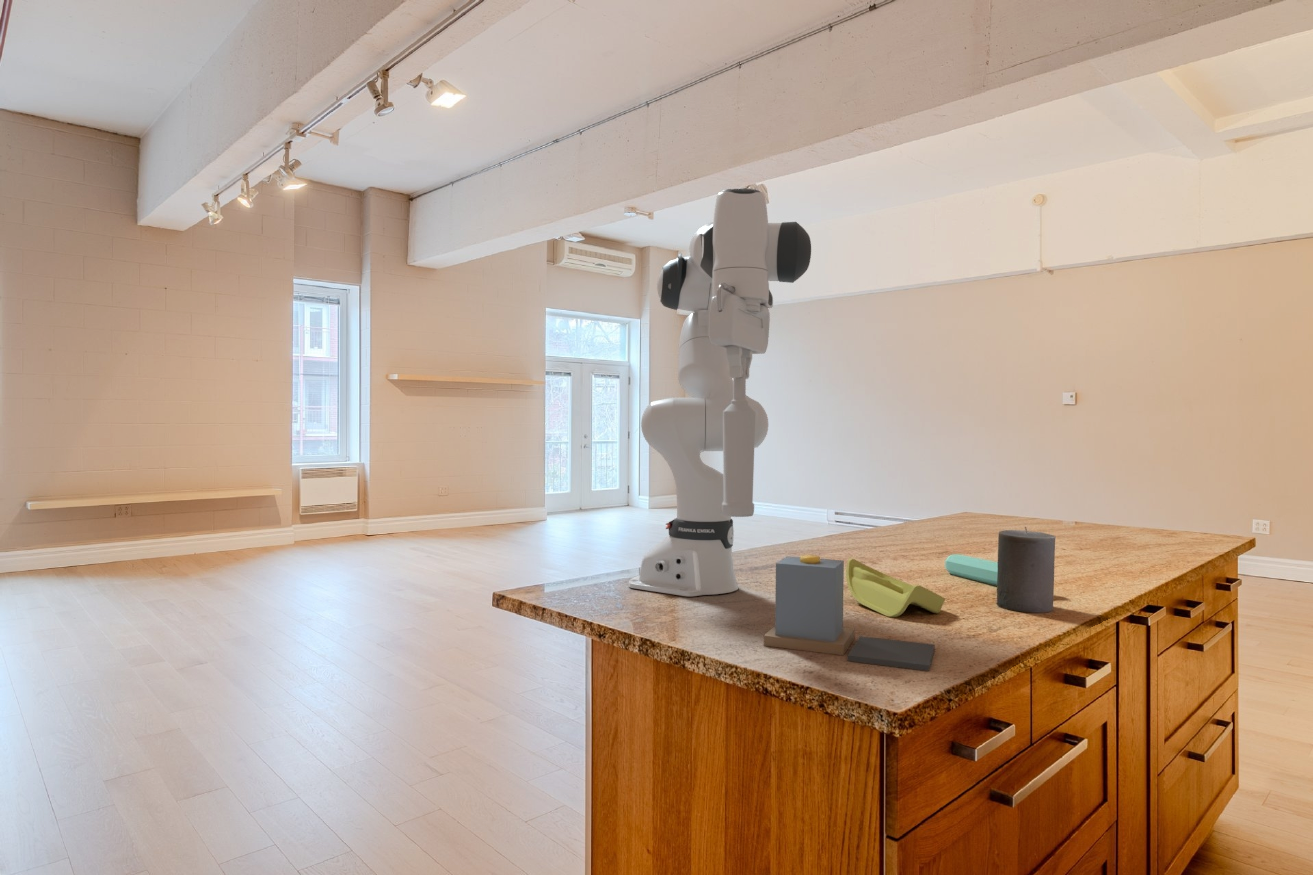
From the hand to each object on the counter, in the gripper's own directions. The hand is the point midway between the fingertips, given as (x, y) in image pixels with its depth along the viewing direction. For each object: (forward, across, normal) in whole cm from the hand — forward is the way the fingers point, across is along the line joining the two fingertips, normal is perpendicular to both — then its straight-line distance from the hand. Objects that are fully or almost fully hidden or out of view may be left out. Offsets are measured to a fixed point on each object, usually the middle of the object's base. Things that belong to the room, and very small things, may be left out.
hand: (739, 378), depth 124 cm
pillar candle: (+41, +41, -43) cm, 72 cm away
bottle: (+22, 0, 0) cm, 22 cm away
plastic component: (+42, +32, -20) cm, 56 cm away
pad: (+41, -1, -24) cm, 47 cm away
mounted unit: (+41, +1, -12) cm, 42 cm away
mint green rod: (+42, +62, -37) cm, 83 cm away
